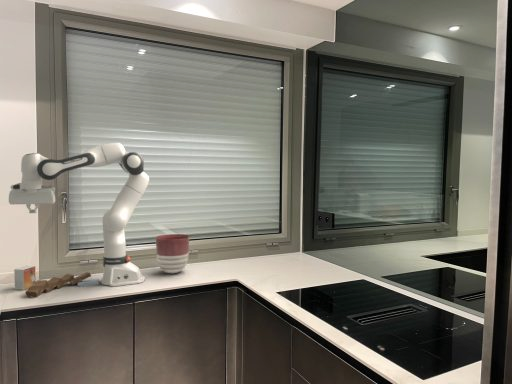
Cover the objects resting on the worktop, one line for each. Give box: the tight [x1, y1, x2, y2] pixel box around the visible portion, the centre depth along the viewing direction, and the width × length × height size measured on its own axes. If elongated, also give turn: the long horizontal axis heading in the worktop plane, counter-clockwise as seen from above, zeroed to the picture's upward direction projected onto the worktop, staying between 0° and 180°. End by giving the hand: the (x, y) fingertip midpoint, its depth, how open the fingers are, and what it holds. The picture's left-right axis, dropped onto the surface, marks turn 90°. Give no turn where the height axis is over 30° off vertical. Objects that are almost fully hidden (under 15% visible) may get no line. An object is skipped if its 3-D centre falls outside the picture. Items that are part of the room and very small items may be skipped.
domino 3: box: [53, 273, 75, 290], centre depth 195 cm, size 2×5×10 cm
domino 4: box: [68, 271, 92, 286], centre depth 199 cm, size 2×5×10 cm
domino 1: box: [25, 279, 49, 298], centre depth 181 cm, size 3×5×10 cm
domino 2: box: [42, 276, 62, 293], centre depth 189 cm, size 2×5×10 cm
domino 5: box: [77, 279, 100, 287], centre depth 197 cm, size 2×5×10 cm
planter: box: [155, 233, 190, 274], centre depth 221 cm, size 20×20×21 cm
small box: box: [13, 265, 37, 291], centre depth 191 cm, size 8×6×10 cm
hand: (32, 213), depth 187 cm, fingers closed
